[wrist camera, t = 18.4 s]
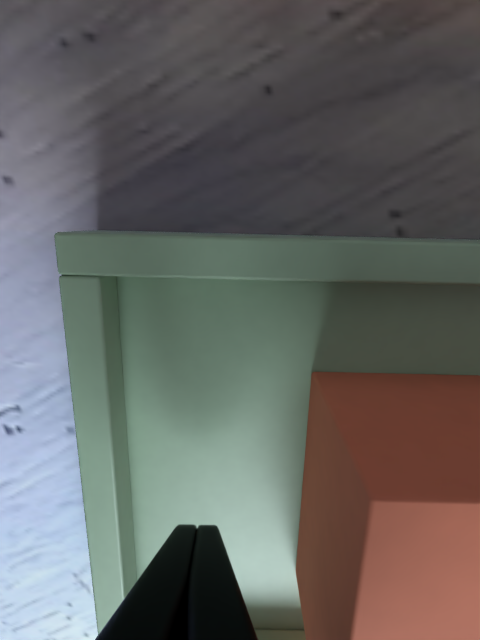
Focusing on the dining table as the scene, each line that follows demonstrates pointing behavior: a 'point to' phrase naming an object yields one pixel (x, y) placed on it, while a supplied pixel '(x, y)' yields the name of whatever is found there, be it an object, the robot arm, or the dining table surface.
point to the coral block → (391, 508)
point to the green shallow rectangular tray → (235, 381)
